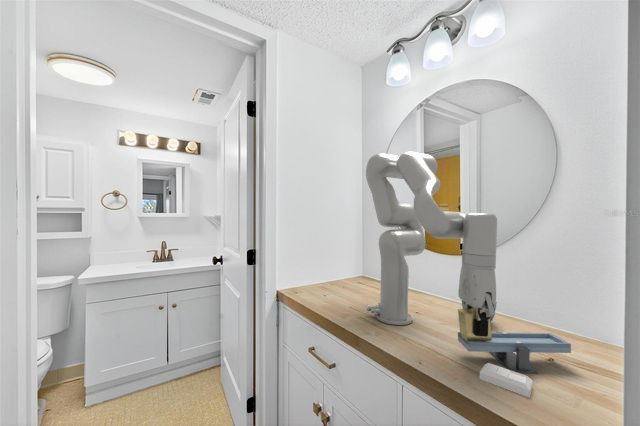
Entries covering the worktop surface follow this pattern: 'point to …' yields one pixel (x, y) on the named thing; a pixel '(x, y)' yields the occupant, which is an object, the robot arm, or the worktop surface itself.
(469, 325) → the block
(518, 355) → the stand
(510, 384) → the soap bar
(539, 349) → the beam
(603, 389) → the worktop surface
